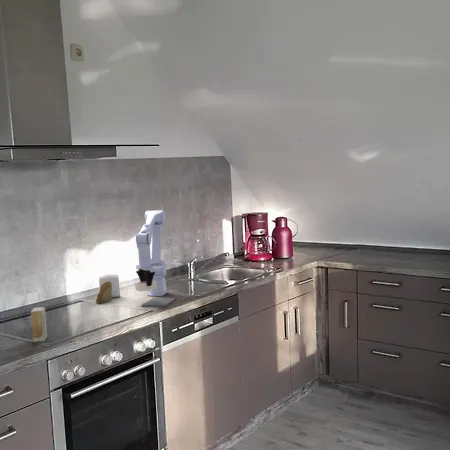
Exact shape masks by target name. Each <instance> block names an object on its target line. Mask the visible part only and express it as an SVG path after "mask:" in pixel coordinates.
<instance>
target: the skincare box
mask: <svg viewBox="0 0 450 450" xmlns="http://www.w3.org/2000/svg"><path fill="white" fill-rule="evenodd" d="M30 319H31V320H30V321H31V322H30V323H31V331H32V332H31V333H32V342H36V343H37V342H45V341H46V340H47V337H48V329H47V316H46V307H44V306H41V307H33V308H32V310H31V311H30Z"/></svg>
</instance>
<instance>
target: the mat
mask: <svg viewBox="0 0 450 450" xmlns="http://www.w3.org/2000/svg"><path fill="white" fill-rule="evenodd" d="M175 301H176V298H169V297H167V298H166V297H165V298H161V297H158V298H157V297H156V298H155V297H152V298H150V299H149V300H147V301H145V302H143V303H142V304H141V307H146V308H147V307H150V308H151V307H153V308H155V307H156V308H158V307H159V308H160V307H164V308H165V307H168V306H169V305H171V304H172V303H174V302H175Z"/></svg>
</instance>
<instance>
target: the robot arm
mask: <svg viewBox="0 0 450 450" xmlns="http://www.w3.org/2000/svg"><path fill="white" fill-rule="evenodd" d="M166 218H167V217H166V212H165V210H164V209H161V210H146V211H145V213H144V220H145V223H144V224H143V225H142V227H141V229H140V231H139V233H137V234H136V236H135V243H136V248H137V249H138V250H137V251H138V264H137V265H136V266H135V267H136V270H135V273H136V274H137V276H138V278H139V282H143V281H146V284H147V286H151V285H152V280H153V281H156V283H157V289H152V290H149V292H150V293H149V294H147V297H148V296H149V297H162V296H164V295H165V294H167V293H168V292H169V291H168V290H167V282H166V281H167V280H166V278H165V277H166V275H167V263H166V261H164V259H161V258H162V231H163V228H164V227H166Z"/></svg>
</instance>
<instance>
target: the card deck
mask: <svg viewBox="0 0 450 450" xmlns="http://www.w3.org/2000/svg"><path fill="white" fill-rule="evenodd" d="M134 284H135V285H134V286H135V287H134V288H135V291H138V292H143V291H144V292H145V291H146V292H147V291H150V290H152V289H157V283H156V281H153V280H152V285H151V286H147V284H146V281H143V282H140V281H138V282H135V283H134Z"/></svg>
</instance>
